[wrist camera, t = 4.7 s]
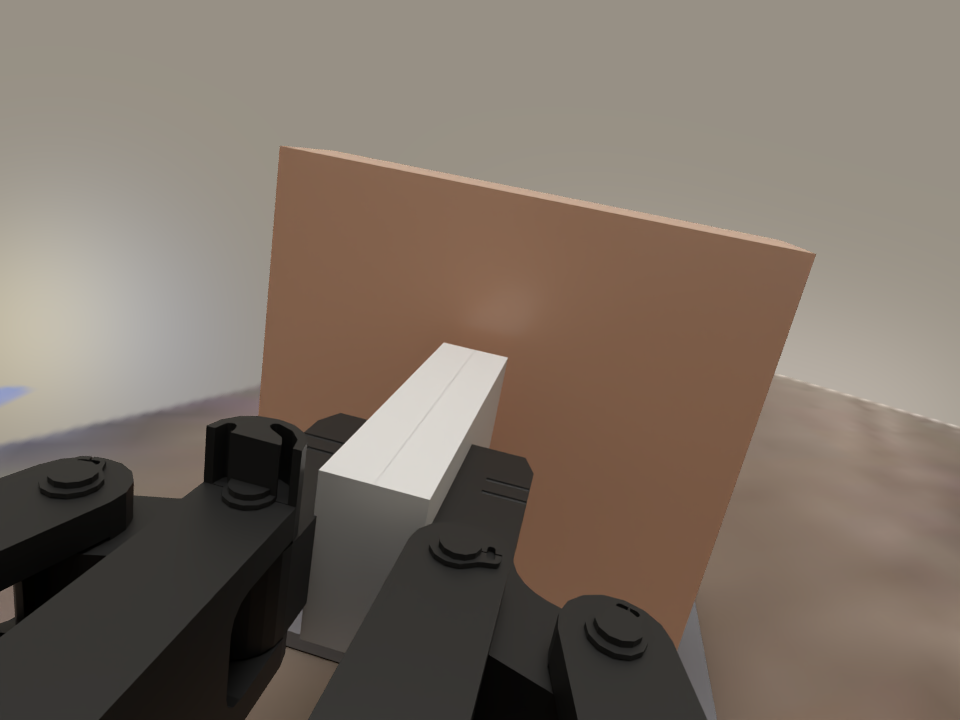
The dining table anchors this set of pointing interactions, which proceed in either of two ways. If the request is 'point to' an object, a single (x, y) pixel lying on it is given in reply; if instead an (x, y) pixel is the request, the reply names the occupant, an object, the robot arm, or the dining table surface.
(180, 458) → the dining table surface
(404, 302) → the terracotta tile
